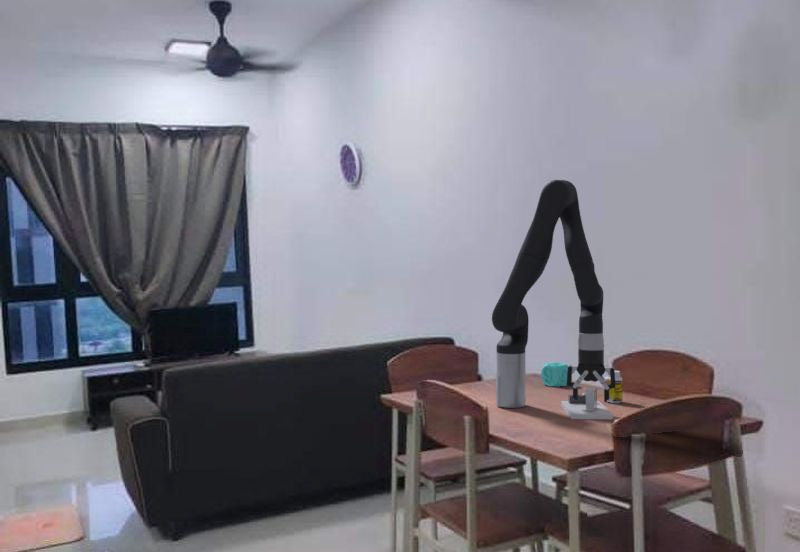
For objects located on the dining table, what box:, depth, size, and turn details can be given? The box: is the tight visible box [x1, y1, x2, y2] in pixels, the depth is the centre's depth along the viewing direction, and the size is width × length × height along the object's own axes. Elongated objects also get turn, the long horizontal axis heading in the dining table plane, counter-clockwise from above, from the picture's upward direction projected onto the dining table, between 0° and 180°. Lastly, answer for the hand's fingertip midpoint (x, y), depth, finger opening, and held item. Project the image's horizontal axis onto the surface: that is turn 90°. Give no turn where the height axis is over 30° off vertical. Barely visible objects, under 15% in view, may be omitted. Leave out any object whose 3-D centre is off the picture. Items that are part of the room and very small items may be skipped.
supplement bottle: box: [604, 370, 623, 404], centre depth 245 cm, size 6×6×10 cm
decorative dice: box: [540, 362, 569, 388], centre depth 278 cm, size 8×8×8 cm
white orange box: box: [585, 386, 598, 411], centre depth 227 cm, size 6×3×6 cm, turn 159°
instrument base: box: [560, 392, 614, 420], centre depth 230 cm, size 12×20×5 cm, turn 177°
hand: (591, 400), depth 227 cm, fingers open, 8 cm apart
